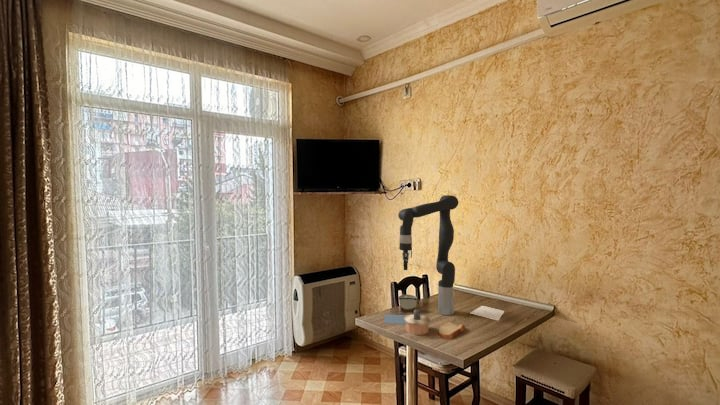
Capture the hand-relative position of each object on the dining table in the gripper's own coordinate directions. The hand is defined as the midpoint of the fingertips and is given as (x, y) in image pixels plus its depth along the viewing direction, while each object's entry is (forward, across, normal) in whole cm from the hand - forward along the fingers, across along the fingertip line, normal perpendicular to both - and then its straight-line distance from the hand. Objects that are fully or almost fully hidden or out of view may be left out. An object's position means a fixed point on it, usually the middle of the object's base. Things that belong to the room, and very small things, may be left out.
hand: (405, 268), depth 200 cm
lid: (+24, -20, -6) cm, 32 cm away
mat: (+30, -5, +5) cm, 31 cm away
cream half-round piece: (+30, +12, -2) cm, 33 cm away
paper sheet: (+31, +12, -58) cm, 67 cm away
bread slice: (+31, -19, -25) cm, 44 cm away
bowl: (+30, -20, -6) cm, 37 cm away
